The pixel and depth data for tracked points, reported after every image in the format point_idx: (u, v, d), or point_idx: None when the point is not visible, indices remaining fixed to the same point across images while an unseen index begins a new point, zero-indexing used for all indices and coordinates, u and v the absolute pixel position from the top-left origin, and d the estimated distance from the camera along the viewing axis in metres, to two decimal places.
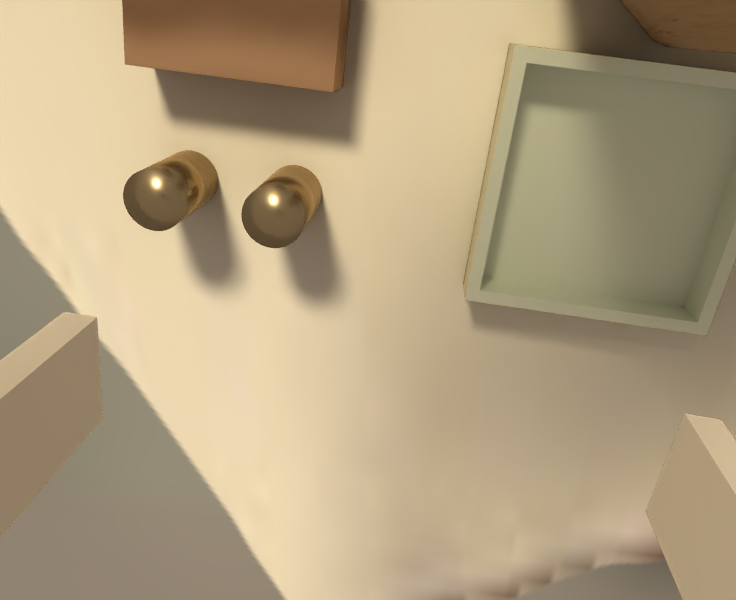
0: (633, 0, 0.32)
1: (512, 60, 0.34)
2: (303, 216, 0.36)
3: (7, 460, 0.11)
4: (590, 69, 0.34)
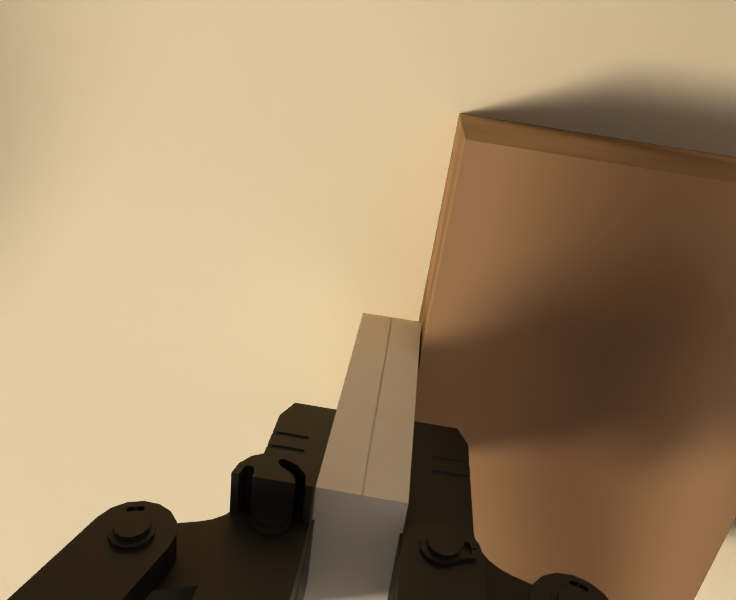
0: None
1: None
2: None
3: None
4: None
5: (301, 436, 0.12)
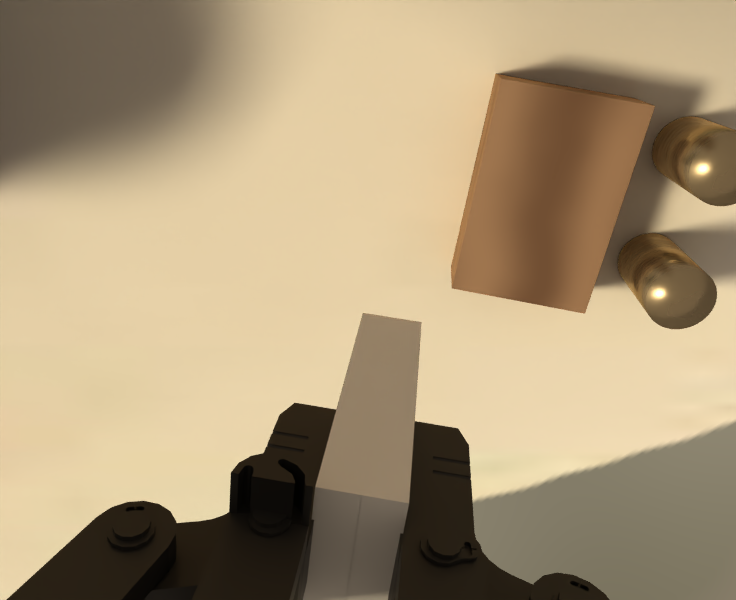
0: None
1: None
2: (733, 132, 0.30)
3: None
4: None
5: (301, 436, 0.12)
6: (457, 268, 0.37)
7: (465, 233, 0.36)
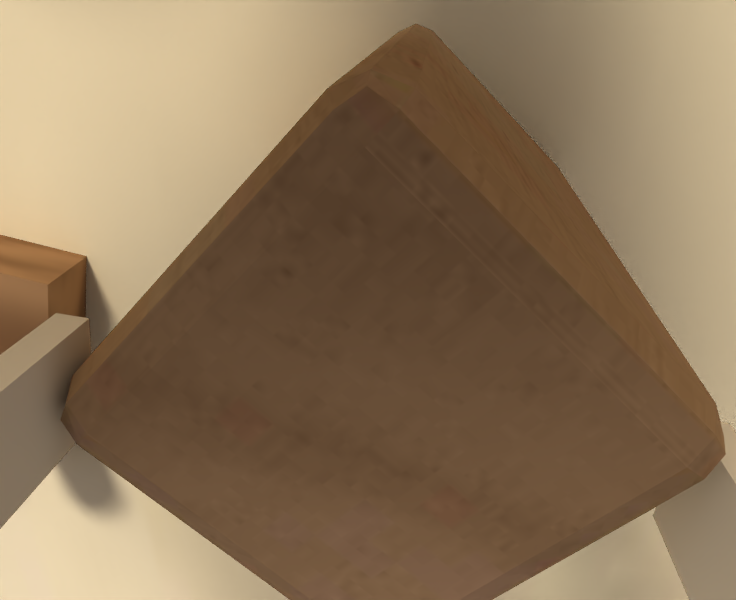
0: None
1: None
2: None
3: None
4: None
5: None
6: None
7: None
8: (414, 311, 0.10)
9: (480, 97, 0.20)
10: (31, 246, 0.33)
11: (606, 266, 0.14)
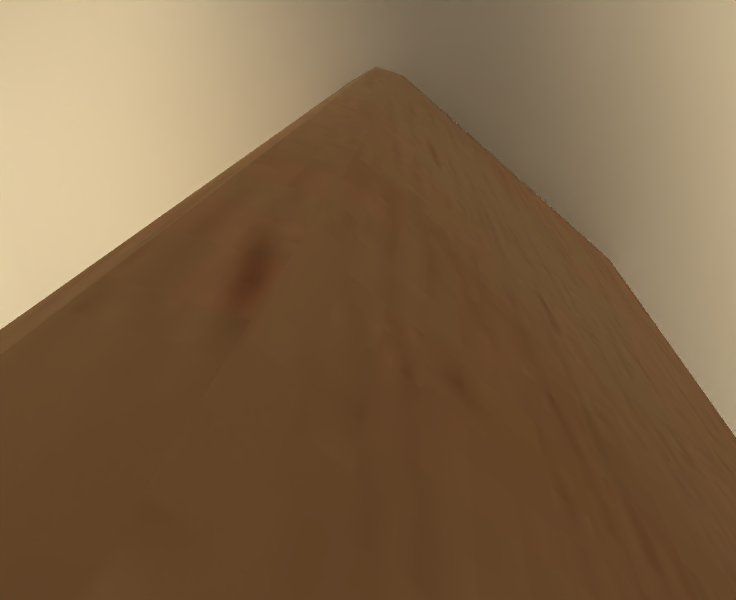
0: None
1: None
2: None
3: None
4: None
5: None
6: None
7: None
8: None
9: (485, 201, 0.11)
10: None
11: None
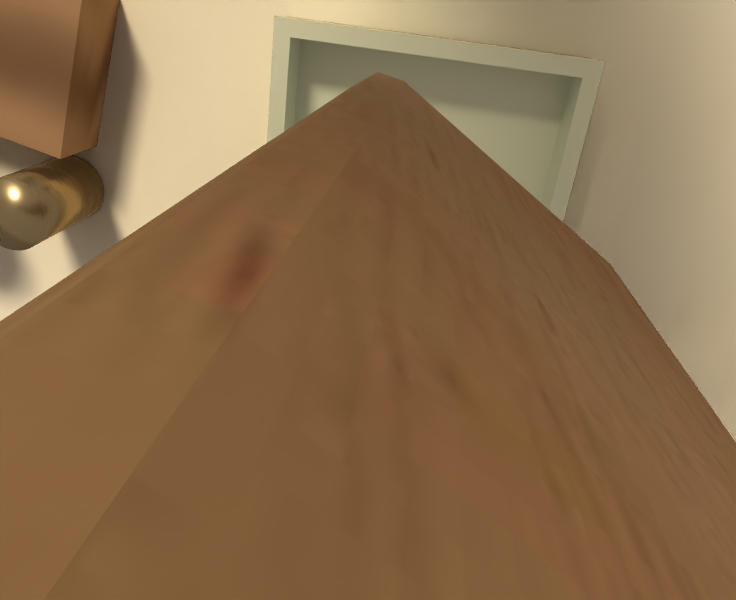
0: None
1: (274, 34, 0.29)
2: (44, 214, 0.31)
3: None
4: (363, 45, 0.29)
5: None
6: None
7: None
8: None
9: (483, 203, 0.11)
10: None
11: None
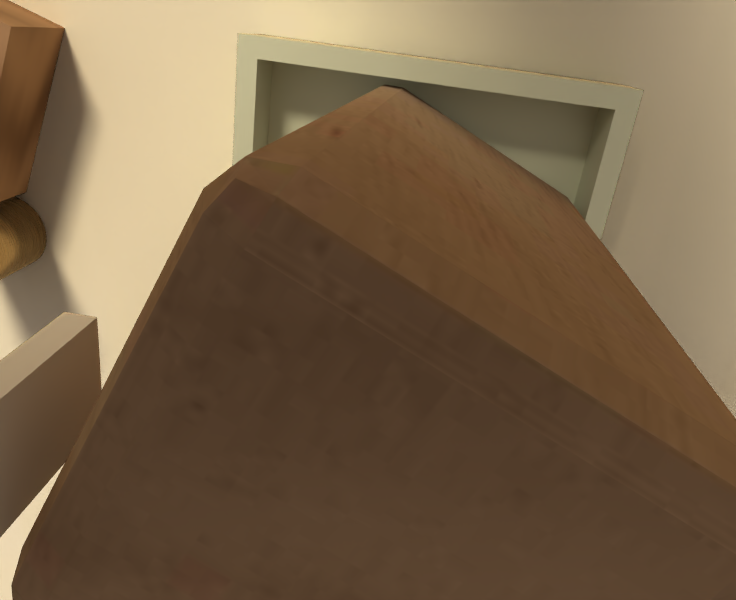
0: None
1: (238, 55, 0.24)
2: None
3: (7, 460, 0.11)
4: (346, 69, 0.23)
5: None
6: None
7: None
8: (354, 426, 0.08)
9: (452, 145, 0.19)
10: None
11: (607, 314, 0.11)
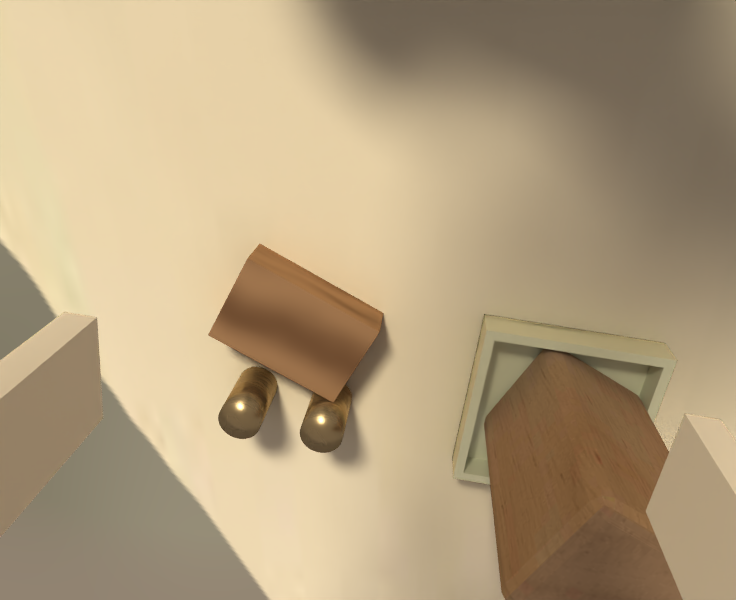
0: None
1: (485, 338, 0.50)
2: (342, 434, 0.52)
3: (7, 460, 0.11)
4: (537, 346, 0.50)
5: None
6: (261, 266, 0.49)
7: (286, 280, 0.49)
8: (626, 557, 0.35)
9: (603, 409, 0.45)
10: (354, 299, 0.53)
11: None
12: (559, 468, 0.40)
